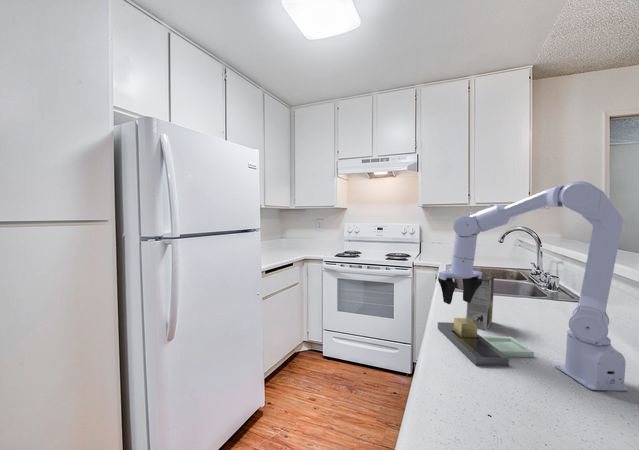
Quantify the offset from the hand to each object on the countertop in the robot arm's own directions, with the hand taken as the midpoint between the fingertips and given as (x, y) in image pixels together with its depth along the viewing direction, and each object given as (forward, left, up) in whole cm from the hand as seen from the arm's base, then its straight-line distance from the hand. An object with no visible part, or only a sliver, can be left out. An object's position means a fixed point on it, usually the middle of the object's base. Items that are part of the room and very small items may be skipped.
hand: (456, 302), depth 86 cm
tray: (-8, -10, -10) cm, 16 cm away
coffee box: (+10, -13, -10) cm, 19 cm away
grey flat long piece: (-6, -1, -10) cm, 12 cm away
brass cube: (-4, -1, -10) cm, 11 cm away
